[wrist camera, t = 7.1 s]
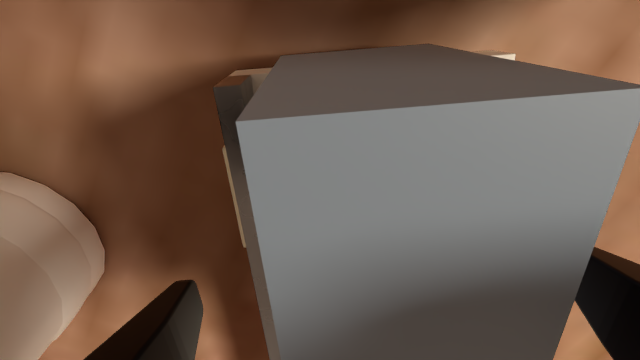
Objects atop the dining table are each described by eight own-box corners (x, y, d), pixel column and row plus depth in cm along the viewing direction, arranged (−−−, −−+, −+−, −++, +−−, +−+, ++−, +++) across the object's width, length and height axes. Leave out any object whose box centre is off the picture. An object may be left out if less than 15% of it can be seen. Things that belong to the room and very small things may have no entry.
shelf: (230, 70, 13) (205, 88, 9) (493, 50, 13) (557, 60, 9) (288, 389, 21) (285, 454, 18) (443, 376, 22) (468, 439, 18)
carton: (428, 43, 11) (651, 87, 4) (414, 254, 15) (512, 469, 8) (277, 56, 11) (225, 122, 4) (302, 264, 15) (299, 487, 8)
